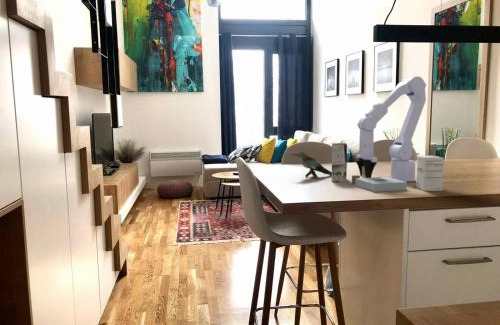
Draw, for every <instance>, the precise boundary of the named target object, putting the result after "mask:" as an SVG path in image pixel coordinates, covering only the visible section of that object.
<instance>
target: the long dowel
mask: <svg viewBox="0 0 500 325" xmlns="http://www.w3.org/2000/svg"><path fill="white" fill-rule="evenodd" d="M361 178H366V177H365V168H364V166H362V177H361Z"/></svg>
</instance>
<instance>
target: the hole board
mask: <svg viewBox="0 0 500 325" xmlns="http://www.w3.org/2000/svg"><path fill="white" fill-rule="evenodd" d="M354 186H355V187H358V188H361V189H363V188H364V190H366V189H367V191H369V190H370V192H373V193H374V192H375V193H377V192H379V193H380V192H395V191H407V190H408V189H407V188H408V181H406V182H405V181H401V180H397V179H393V178H391V177H389V176H378V177H377V176H376V177H375V176H374V177H371V178H362V177H360V178H356V180H355V185H354Z"/></svg>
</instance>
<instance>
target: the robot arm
mask: <svg viewBox="0 0 500 325" xmlns="http://www.w3.org/2000/svg"><path fill="white" fill-rule="evenodd" d="M426 86H427V83H426V82H425V81H424V79H423V78H422V77H421V76H419V75H417V76H414V77H413V76H412V77H405V78H404V79H402V80H401V82H398V83H397V85H396V87H394V88H393V89H392V90H391V92H390V93H389V94H388V95H387V97H386V98H384V100H383V101H381V102H378V103H375V104H373V105H372V108H371V109H370V110H369V111H368V112H366V113H365V114H364V117H361V118H360V119H359V120H358V123H357V127H358V129H359V145H358V146H359V148H358V149H359V152H358V153H357V154H355V159H356V160H355V163H356V164H357V166H358V170H359V176H360V178H362V166H364V168H365V177H366V178H372V175H373V172H374V168H375V166H376V165H377V164H378V157H377V156H374V136H375V135H374V134H375V133H374V132H375V129H376V127H377V124H378V123H379V122H380V121H381V120H382V119H383V117H384V116H386V115H387V114H388V111H389V110H388V109H389V107H390V106H392V105H393V104H394V103H395V102H396V101H397V100H398V99H399V98H400V97H401V96H403V95H406V96H407V97H408V99H409V100H410V103H409V107H408V109H407V113H406V115H405V118H404V121H403V124H402V127H401V129H400V132H399V135H398V137H397V138H395V139H394V142H393V143H392V144H391V145H390V147H389V149H388V154H389V155H390V157H391V160H390V161H391V163H390V178H393V179H397V180H401V181H405V182H417V179H416V164H415V161H414V160H412V159H410V158H411V157H412V156H413V146H414V143H413V140H412V139H413V137H414V135H415V134H414V133H415V132H416V128H417V127H418V126H417V125H418V123H419V120H420V118H421V115H422V112H423V109H424V107H425V105H426V101H427V97H426Z"/></svg>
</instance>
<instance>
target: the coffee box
mask: <svg viewBox="0 0 500 325" xmlns="http://www.w3.org/2000/svg"><path fill="white" fill-rule="evenodd" d="M347 166H348V144H347V143H346V142H337V143H334V142H333V143H331V172H332V175H331V182H336V181H339V182H341V183H346V182H347V175H348V174H347V169H348V167H347Z"/></svg>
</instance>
